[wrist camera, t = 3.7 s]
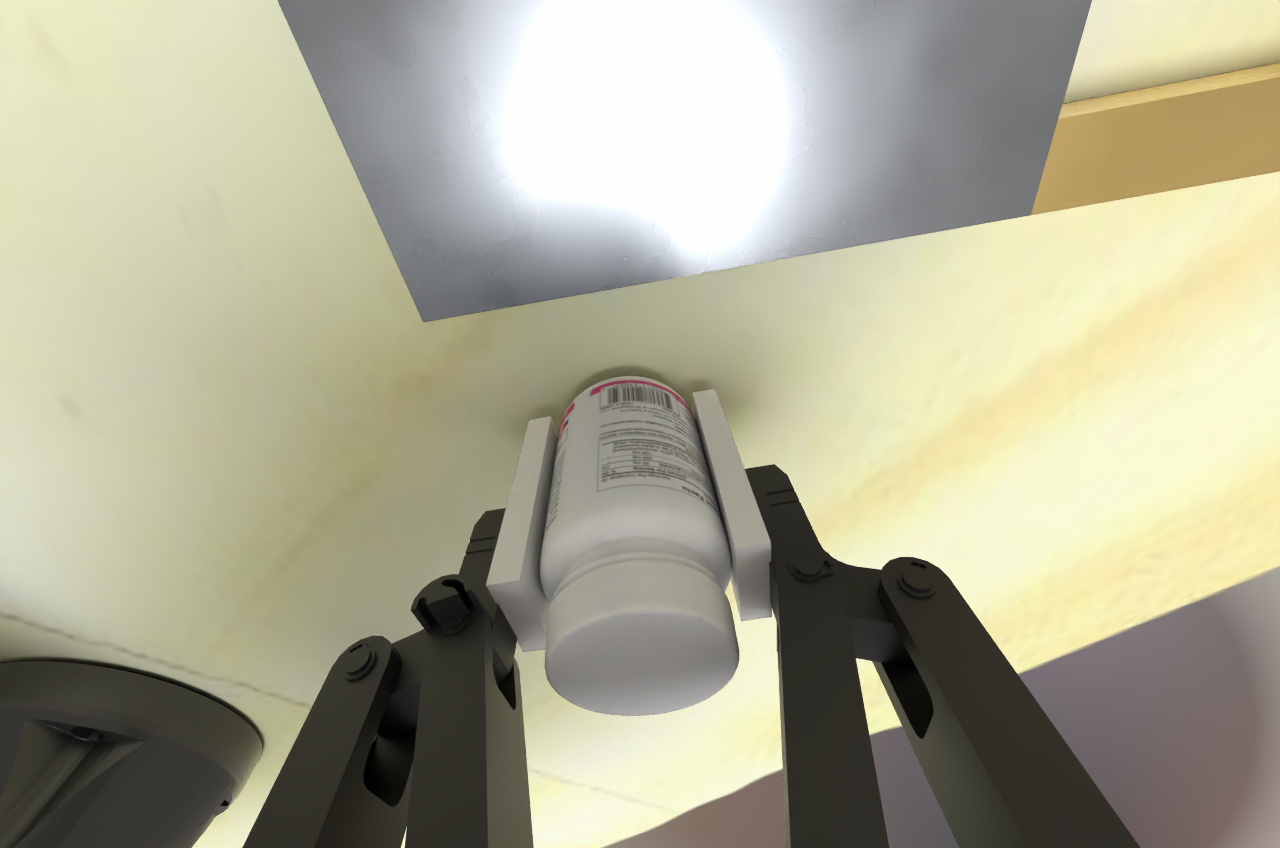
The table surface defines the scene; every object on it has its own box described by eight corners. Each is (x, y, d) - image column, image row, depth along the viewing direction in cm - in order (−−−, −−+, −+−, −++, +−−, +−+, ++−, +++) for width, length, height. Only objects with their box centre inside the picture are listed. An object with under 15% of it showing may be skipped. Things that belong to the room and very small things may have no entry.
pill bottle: (623, 502, 18) (630, 746, 11) (531, 429, 16) (470, 673, 9) (723, 435, 17) (801, 670, 10) (635, 343, 15) (656, 561, 8)
